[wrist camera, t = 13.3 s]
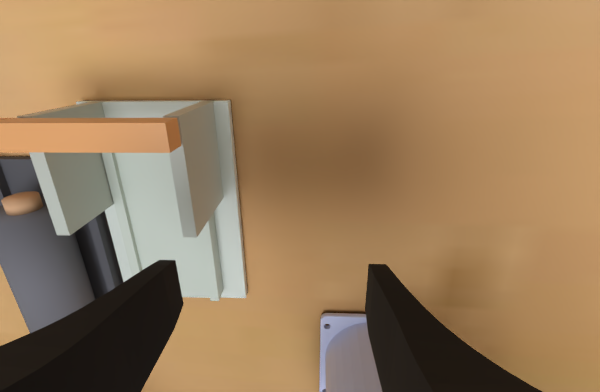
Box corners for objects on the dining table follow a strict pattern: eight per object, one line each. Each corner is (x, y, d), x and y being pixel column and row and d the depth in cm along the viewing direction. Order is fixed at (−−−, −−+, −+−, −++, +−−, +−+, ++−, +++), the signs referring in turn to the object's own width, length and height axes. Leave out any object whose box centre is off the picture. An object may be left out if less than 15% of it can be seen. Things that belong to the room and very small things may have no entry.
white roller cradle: (247, 292, 25) (228, 355, 20) (131, 289, 25) (82, 350, 20) (230, 99, 20) (198, 115, 14) (82, 100, 20) (-2, 116, 15)
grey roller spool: (112, 311, 26) (84, 353, 22) (59, 313, 26) (22, 357, 22) (74, 183, 22) (31, 209, 18) (11, 185, 22) (-45, 212, 18)
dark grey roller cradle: (131, 305, 26) (122, 316, 25) (52, 303, 26) (41, 313, 25) (92, 156, 21) (80, 162, 20) (-3, 156, 22) (-20, 161, 21)
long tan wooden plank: (181, 145, 14) (170, 152, 13) (-8, 145, 15) (-35, 152, 14) (177, 117, 14) (165, 122, 13) (-19, 118, 14) (-47, 123, 13)
